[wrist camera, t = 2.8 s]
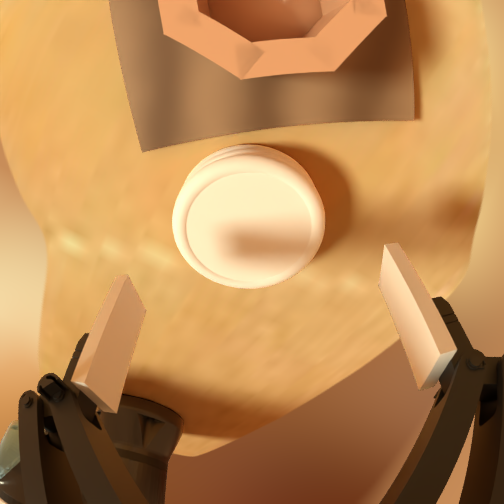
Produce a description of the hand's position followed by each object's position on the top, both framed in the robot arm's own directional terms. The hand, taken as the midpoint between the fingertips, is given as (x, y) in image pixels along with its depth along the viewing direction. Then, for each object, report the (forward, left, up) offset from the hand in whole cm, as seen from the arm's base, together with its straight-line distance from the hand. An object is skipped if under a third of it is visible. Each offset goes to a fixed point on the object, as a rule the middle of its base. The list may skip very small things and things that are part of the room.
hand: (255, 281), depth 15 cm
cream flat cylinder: (0, 0, -9) cm, 9 cm away
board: (+3, +14, -8) cm, 16 cm away
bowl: (+3, +14, -7) cm, 16 cm away
